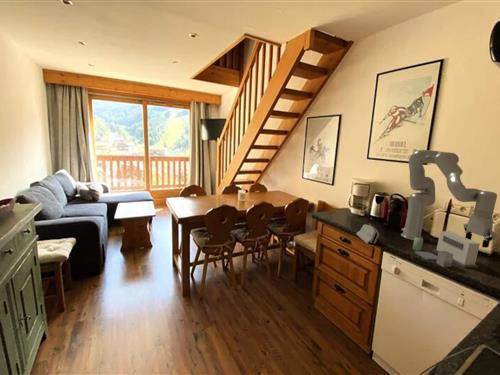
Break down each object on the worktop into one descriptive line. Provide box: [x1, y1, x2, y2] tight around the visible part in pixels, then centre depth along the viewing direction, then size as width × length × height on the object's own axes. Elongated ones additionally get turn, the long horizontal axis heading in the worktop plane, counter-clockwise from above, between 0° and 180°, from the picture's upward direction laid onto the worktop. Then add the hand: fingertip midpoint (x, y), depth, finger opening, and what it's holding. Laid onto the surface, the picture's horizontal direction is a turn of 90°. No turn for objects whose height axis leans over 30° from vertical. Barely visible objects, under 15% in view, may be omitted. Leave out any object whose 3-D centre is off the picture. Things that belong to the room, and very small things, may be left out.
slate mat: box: [414, 250, 438, 261], centre depth 141 cm, size 9×9×1 cm
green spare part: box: [412, 237, 424, 251], centre depth 150 cm, size 4×4×7 cm
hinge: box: [356, 224, 380, 245], centre depth 163 cm, size 17×5×10 cm, turn 0°
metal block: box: [435, 251, 453, 268], centre depth 131 cm, size 4×4×7 cm
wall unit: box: [432, 230, 481, 269], centre depth 138 cm, size 20×8×13 cm, turn 5°
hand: (476, 243), depth 137 cm, fingers open, 9 cm apart
